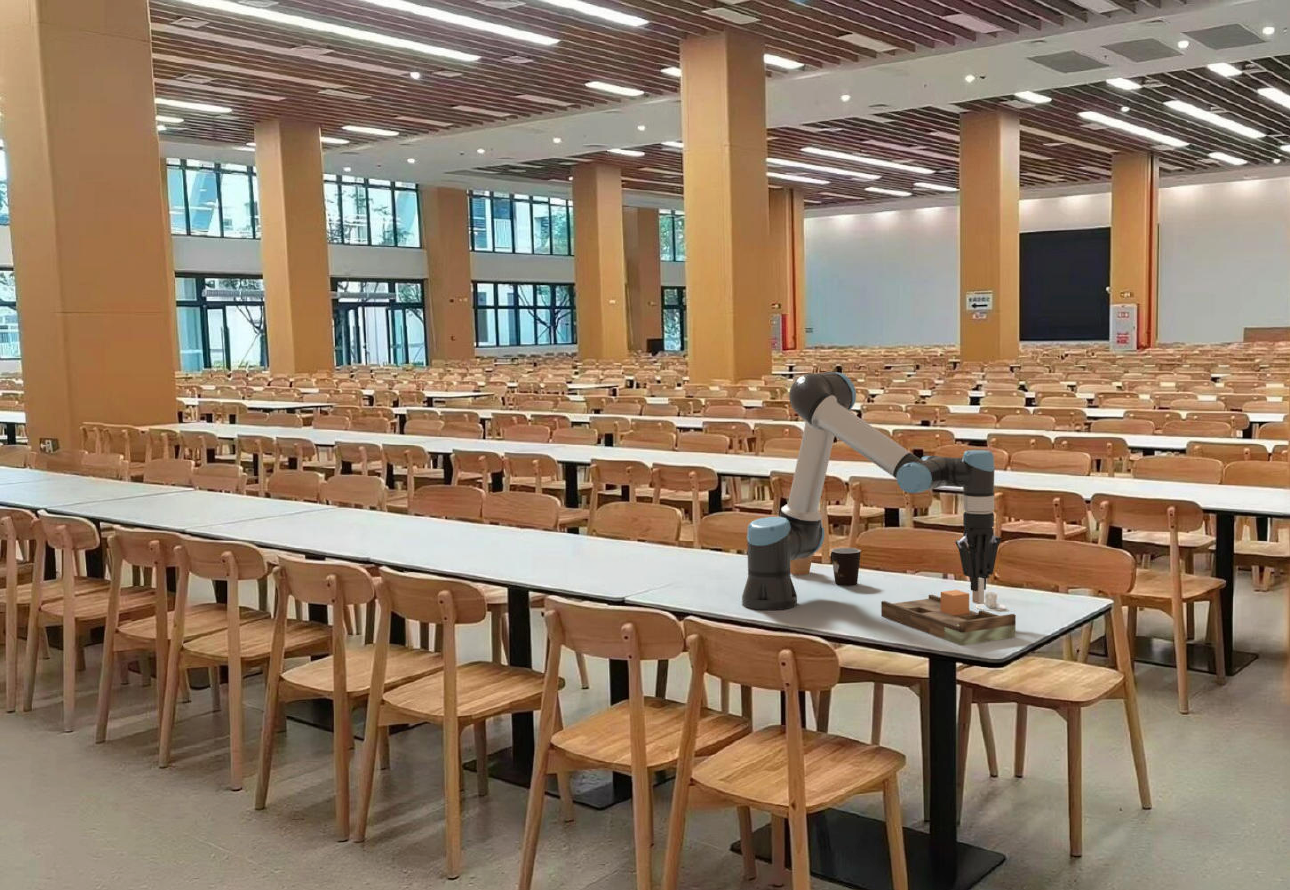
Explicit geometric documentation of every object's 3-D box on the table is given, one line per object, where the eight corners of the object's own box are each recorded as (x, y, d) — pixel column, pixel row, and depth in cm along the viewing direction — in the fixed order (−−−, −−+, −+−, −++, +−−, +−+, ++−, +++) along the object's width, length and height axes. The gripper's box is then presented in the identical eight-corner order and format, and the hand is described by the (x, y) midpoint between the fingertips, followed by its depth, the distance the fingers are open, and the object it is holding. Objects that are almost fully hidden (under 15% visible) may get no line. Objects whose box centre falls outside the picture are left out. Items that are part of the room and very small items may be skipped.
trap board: (961, 645, 288) (961, 622, 288) (881, 616, 318) (881, 595, 318) (1015, 636, 294) (1015, 614, 294) (931, 609, 325) (931, 589, 324)
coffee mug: (863, 586, 354) (862, 552, 353) (833, 587, 354) (833, 553, 353) (857, 578, 366) (856, 545, 365) (828, 579, 366) (828, 546, 365)
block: (953, 615, 305) (953, 595, 305) (940, 611, 310) (940, 591, 309) (969, 612, 307) (969, 593, 307) (956, 608, 312) (956, 589, 311)
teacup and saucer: (984, 603, 332) (984, 588, 332) (1012, 607, 327) (1012, 592, 327) (970, 609, 325) (970, 594, 325) (998, 613, 320) (998, 598, 320)
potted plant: (777, 572, 378) (776, 493, 376) (802, 568, 382) (801, 490, 380) (796, 577, 369) (795, 497, 367) (821, 573, 374) (821, 494, 371)
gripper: (989, 507, 314) (988, 597, 316) (948, 511, 309) (948, 602, 311) (1009, 511, 307) (1008, 603, 309) (967, 515, 302) (967, 608, 304)
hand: (978, 602), depth 310 cm, fingers closed
